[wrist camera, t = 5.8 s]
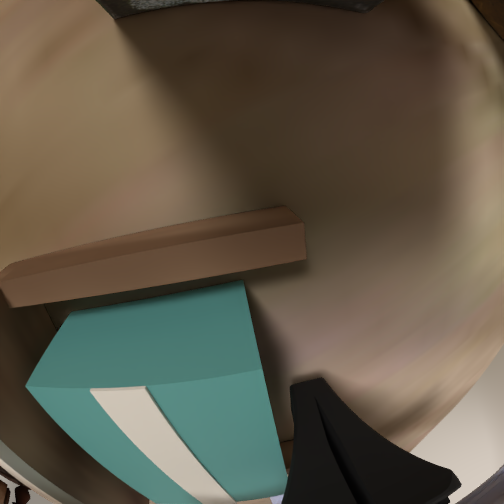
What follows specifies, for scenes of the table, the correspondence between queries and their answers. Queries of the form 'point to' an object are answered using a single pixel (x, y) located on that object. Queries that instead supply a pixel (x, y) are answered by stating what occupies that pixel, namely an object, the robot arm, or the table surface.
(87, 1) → the table surface
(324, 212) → the table surface
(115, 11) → the chalk box
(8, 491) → the scroll
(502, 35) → the wooden container
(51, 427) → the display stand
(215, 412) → the carton
